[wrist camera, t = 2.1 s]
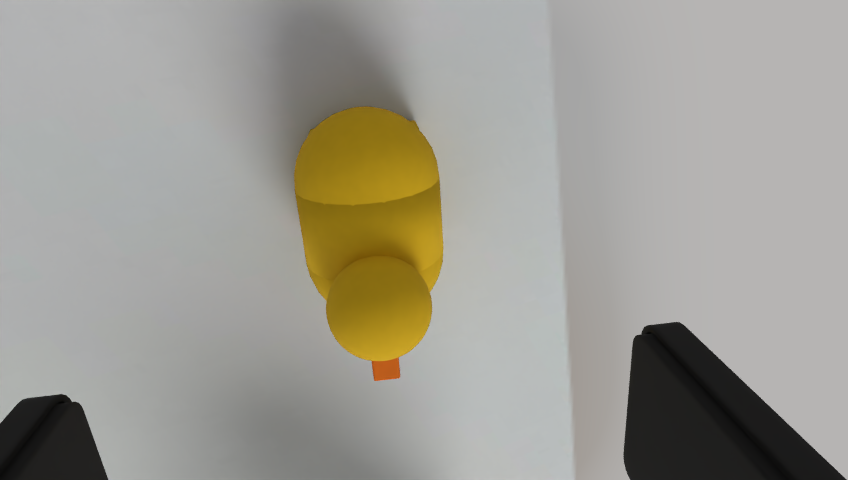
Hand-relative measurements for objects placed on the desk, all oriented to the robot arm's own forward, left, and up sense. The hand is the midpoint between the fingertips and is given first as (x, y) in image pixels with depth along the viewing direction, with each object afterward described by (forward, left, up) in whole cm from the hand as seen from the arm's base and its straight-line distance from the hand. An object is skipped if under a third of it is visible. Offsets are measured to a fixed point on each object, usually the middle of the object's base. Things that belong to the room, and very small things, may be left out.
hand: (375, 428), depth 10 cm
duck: (-1, 0, -12) cm, 12 cm away
